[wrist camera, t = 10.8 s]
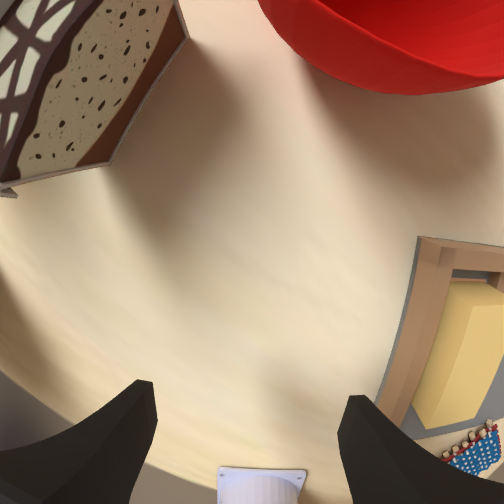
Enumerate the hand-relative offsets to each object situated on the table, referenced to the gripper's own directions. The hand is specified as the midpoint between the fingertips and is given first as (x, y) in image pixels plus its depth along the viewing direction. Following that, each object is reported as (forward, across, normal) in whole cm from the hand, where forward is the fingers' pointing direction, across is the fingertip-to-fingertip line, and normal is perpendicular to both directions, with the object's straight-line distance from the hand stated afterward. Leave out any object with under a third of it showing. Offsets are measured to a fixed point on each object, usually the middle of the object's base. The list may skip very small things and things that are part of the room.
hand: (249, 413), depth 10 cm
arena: (+9, -19, +4) cm, 21 cm away
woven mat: (+9, -25, +19) cm, 32 cm away
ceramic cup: (+10, -6, -20) cm, 23 cm away
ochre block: (+9, -14, +2) cm, 17 cm away
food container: (+10, +10, -14) cm, 20 cm away
